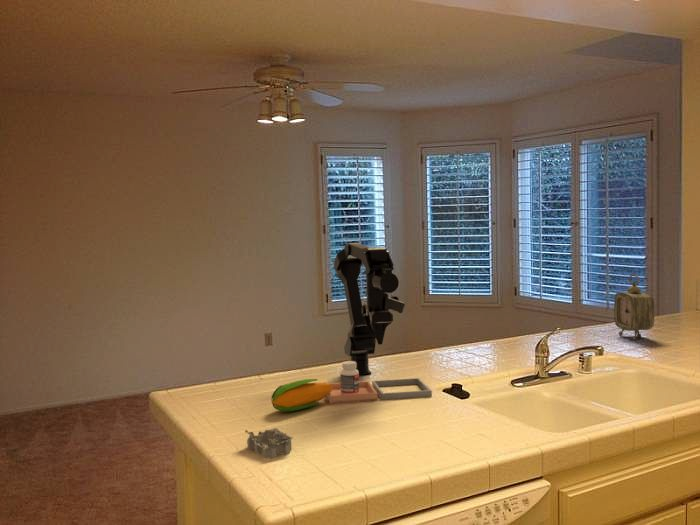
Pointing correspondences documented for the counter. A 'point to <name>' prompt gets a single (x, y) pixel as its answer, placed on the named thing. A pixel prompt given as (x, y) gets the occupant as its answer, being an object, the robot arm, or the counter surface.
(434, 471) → the counter surface
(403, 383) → the grey frame
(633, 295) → the tabletop clock
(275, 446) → the egg carton
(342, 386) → the pill bottle
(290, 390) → the corn
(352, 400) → the terracotta dish
